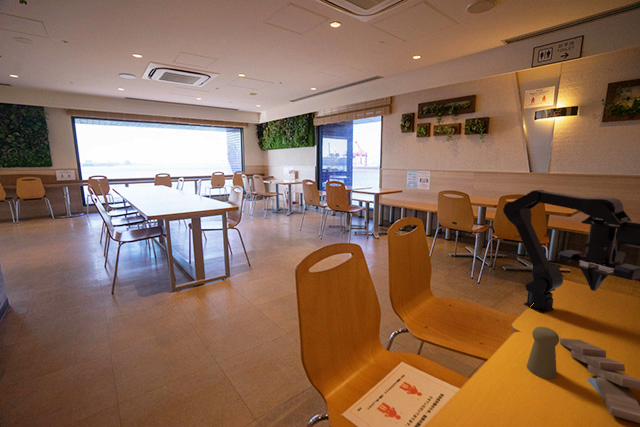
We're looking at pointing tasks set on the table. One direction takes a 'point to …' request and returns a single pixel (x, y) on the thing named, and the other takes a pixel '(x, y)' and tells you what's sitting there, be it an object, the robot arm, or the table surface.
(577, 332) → the table surface
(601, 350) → the walnut tile
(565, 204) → the robot arm
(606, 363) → the walnut tile
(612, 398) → the walnut tile
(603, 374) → the walnut tile
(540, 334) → the pepper shaker
